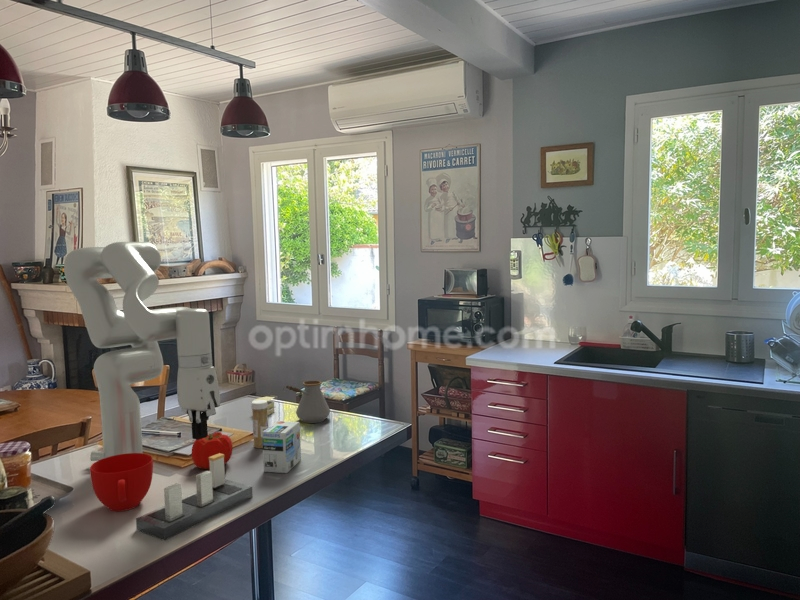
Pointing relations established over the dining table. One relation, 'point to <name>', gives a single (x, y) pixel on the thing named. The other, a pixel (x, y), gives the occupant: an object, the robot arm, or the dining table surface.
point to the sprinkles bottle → (259, 421)
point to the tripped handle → (217, 469)
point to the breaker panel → (192, 506)
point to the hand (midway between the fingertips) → (200, 437)
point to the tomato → (211, 449)
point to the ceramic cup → (122, 480)
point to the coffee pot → (311, 403)
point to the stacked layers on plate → (270, 404)
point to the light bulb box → (281, 446)
